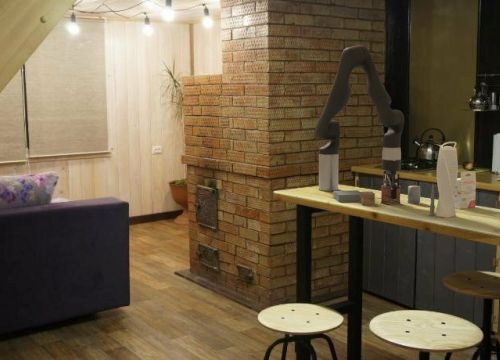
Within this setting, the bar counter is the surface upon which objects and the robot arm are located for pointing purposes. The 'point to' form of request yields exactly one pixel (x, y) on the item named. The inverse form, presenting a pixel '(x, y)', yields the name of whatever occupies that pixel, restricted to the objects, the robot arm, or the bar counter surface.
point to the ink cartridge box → (465, 190)
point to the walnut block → (367, 198)
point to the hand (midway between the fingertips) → (390, 197)
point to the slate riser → (347, 196)
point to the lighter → (389, 194)
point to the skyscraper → (445, 182)
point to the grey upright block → (414, 194)
